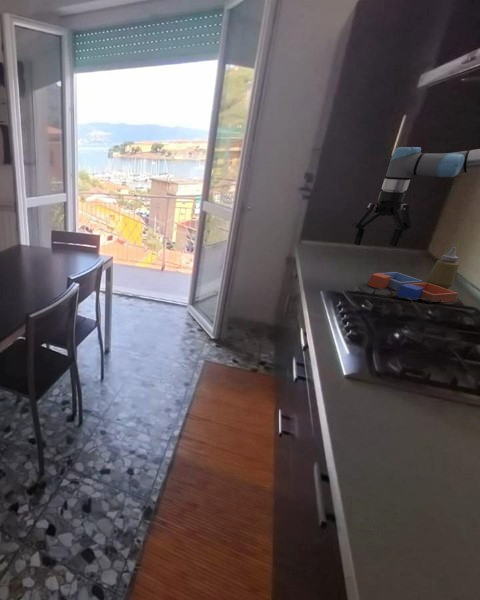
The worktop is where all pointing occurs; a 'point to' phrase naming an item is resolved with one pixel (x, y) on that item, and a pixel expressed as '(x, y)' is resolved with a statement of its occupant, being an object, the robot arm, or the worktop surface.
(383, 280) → the terracotta cube
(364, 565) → the worktop surface
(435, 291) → the terracotta bin
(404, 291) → the blue cube
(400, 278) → the blue bin
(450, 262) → the squeeze bottle
